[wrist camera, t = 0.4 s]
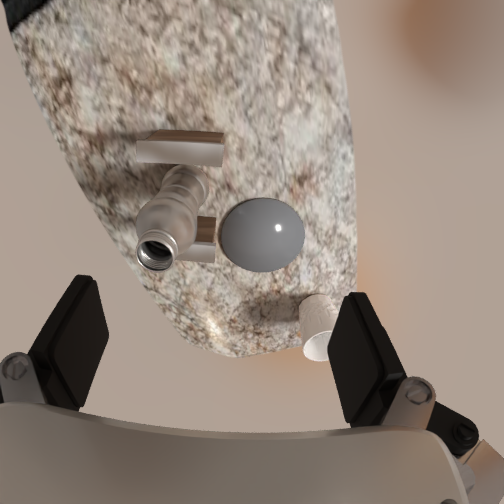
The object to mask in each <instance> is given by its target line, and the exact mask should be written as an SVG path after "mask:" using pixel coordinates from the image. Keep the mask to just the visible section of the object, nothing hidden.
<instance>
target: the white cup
mask: <svg viewBox="0 0 504 504" xmlns="http://www.w3.org/2000/svg"><path fill="white" fill-rule="evenodd" d="M337 317H338V312H337V310H336V308H335V306H334V304H333V302H332V300H331V298H330V297H328V296H326V295H323V294H315V295H311V296H309V297H307V298H306V299H304V300H303V301H302V302H301V304H300V305H299V323H300V332H301V340H302V348H303V353H304V355H305V356H306V357H307V358H308V359H310V360H313V361H327V360H329V357H328V353H327V346H328V343H329V340H330V337H331V334H332V331H333V329H334V326H335V323H336V320H337Z"/></svg>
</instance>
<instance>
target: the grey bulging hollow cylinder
mask: <svg viewBox="0 0 504 504" xmlns="http://www.w3.org/2000/svg"><path fill="white" fill-rule="evenodd" d="M208 194H209V182H208V179H207V177H206V175H205V173H204V172H203V171H202V170H201V169H200V168H198V167H197V166H194V165H186V164H180V165H177V166H175V167H173V168H171V169H170V170H169V171H168V172H167V173H166V174H165V176H164V178H163V181H162V184H161V189H160V191H159V192H158V194H157V195H156V196H155V197H154V198H153V199H151V200H150V201H149V202H147V203H146V204H145V205H144V206H143V207H142V209H141V210H140V211H139V213H138V216H137V220H136V232H137V236H138V238H139V240H138V245H137V247H136V252H135V253H136V258H137V260H138V262H139V263H140V265H141V266H142V267H144V268H145V269H147V270H149V271H151V272H156V273H161V272H165V271H167V270H169V269H170V268H171V267H172V265H173V264H174V261H175V259H176V257H177V256H178V255H180V254H182V253H184V252H185V251H186V250H187V249H188V248H189V247H190V246H191V245H192V244H193V242H194V241H195V238H196V233H197V215H198V210H199V208H200V207H201V206H202V204H203V203H204V202H205V200H206V199H207V197H208Z"/></svg>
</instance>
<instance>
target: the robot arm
mask: <svg viewBox="0 0 504 504" xmlns="http://www.w3.org/2000/svg"><path fill="white" fill-rule="evenodd" d="M108 338H109V332H108V327H107V323H106V320H105V316H104V312H103V308H102V304H101V299H100V295H99V291H98V286H97V282H96V281H95V280H93V278H92V277H91V276H88V275H76V276H75V278H74V279H73V281H72V282H71V284H70V285H69V287H68V288H67V290H66V291H65V293H64V294H63V296H62V297H61V299H60V300H59V302H58V303H57V305H56V307H55V308H54V310H53V311H52V313H51V315H50V316H49V318H48V319H47V321H46V323H45V324H44V326H43V328H42V329H41V331H40V333H39V334H38V336H37V338H36V340H35V341H34V343H33V345H32V347H31V349H30V350H29V352H28V354H25V353H22V352H15V353H11V354H9V355H8V356H6V357H5V358H4V359H3V360H2V362H1V363H0V504H499V502H500V501H501V499H502V497H503V496H504V458H503V457H502V456H501V455H500V454H499V453H498V452H497V451H495V450H494V449H493V448H492V447H491V446H490V445H489V444H488V443H487V442H486V441H485V440H484V439H483V440H482V441H480V440H479V434H478V429H477V427H476V425H475V424H474V423H473V422H472V421H471V420H470V419H468V418H466V417H464V416H462V415H460V414H459V413H457V412H455V411H453V410H451V409H449V408H447V407H446V406H444V405H442V404H440V403H438V402H437V401H435V400H436V393H435V390H434V388H433V386H432V385H431V384H430V383H429V382H428V381H426V380H425V379H423V378H420V377H414V376H412V377H407V375H406V373H405V371H404V368H403V366H402V364H401V362H400V360H399V358H398V355H397V353H396V351H395V349H394V347H393V345H392V343H391V340H390V338H389V336H388V334H387V332H386V330H385V329H384V327H383V326H382V325H381V323H380V321H379V319H378V317H377V315H376V313H375V311H374V309H373V307H372V305H371V303H370V301H369V299H368V297H367V295H366V293H364V292H350V293H349V295H348V296H345V297H344V299H343V302H342V305H341V308H340V311H339V314H338V317H337V320H336V323H335V326H334V329H333V331H332V334H331V337H330V340H329V343H328V346H327V353H328V357H329V361H330V364H331V368H332V371H333V375H334V379H335V383H336V386H337V390H338V394H339V398H340V402H341V406H342V409H343V414H344V418H345V421H346V422H347V423H350V426H351V428H347V429H336V430H322V431H307V432H283V433H239V432H215V431H200V430H188V429H178V428H169V427H160V426H152V425H146V424H139V423H133V422H126V421H121V420H116V419H111V418H106V417H101V416H96V415H91V414H86V413H82V412H79V409H80V407H83V406H84V404H85V402H86V399H87V396H88V393H89V390H90V387H91V384H92V381H93V379H94V376H95V373H96V370H97V368H98V365H99V362H100V360H101V357H102V354H103V352H104V349H105V347H106V344H107V342H108Z"/></svg>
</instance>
